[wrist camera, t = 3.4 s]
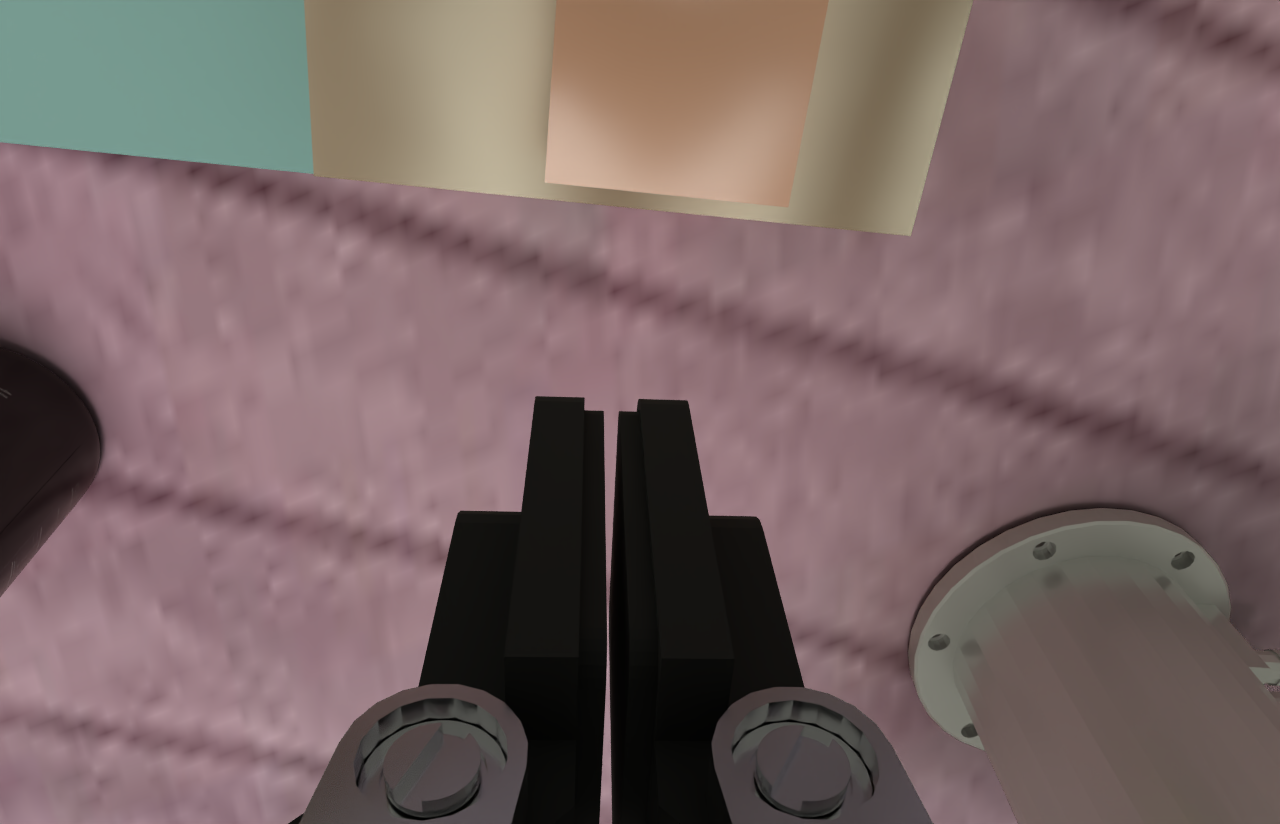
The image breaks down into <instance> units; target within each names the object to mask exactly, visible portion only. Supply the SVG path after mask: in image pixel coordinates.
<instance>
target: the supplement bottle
mask: <svg viewBox="0 0 1280 824" xmlns="http://www.w3.org/2000/svg"><path fill="white" fill-rule="evenodd" d="M99 461H100V442H99V437H98V432H97V429H96V426H95V423H94V421H93V419H92V417H91V415H90V413H89V411H88V410H87V408H86V406H85V405H84V403H83V402H82V401H81V399H80V398H79V397H78V396H77V394H76V393H75V392H74V391H73V390H72V389H71V388H70V387H69V386H68V385H67V384H66V383H65V382H64V381H63V380H62V379H60V378H59V377H58V376H57V375H55V374H54V373H53V372H51V371H50V370H48V369H47V368H45V367H44V366H42V365H40V364H39V363H37V362H35V361H33V360H31V359H29V358H27V357H25V356H23V355H20V354H17V353H15V352H12V351H9V350H6V349H3V348H0V597H1V596H2V594H3V593H4V592H5V591H6V590H7V588H8V587H9V586H10V585H11V584H12V582H13V581H14V580H15V579H16V577H17V576H18V575H19V574H20V573H21V571H22V570H23V569H24V568H25V566H26V565H27V564H28V563H29V562H30V560H31V559H32V558H33V557H34V555H35V554H36V553H37V552H38V551H39V549H40V548H41V547H42V546H43V544H44V543H45V542H46V541H47V540H48V538H49V537H50V536H51V535H52V533H53V532H54V531H55V530H56V529H57V527H58V526H59V525H60V524H61V522H62V521H63V520H64V519H65V518H66V516H67V515H68V514H69V513H70V512H71V510H72V509H73V508H74V507H75V505H76V504H77V502H78V501H79V500H80V499H81V498H82V496H83V495H84V494H85V492H86V491H87V490H88V488H89V486H90V485H91V483H92V482H93V480H94V478H95V476H96V473H97V470H98V466H99Z"/></svg>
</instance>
